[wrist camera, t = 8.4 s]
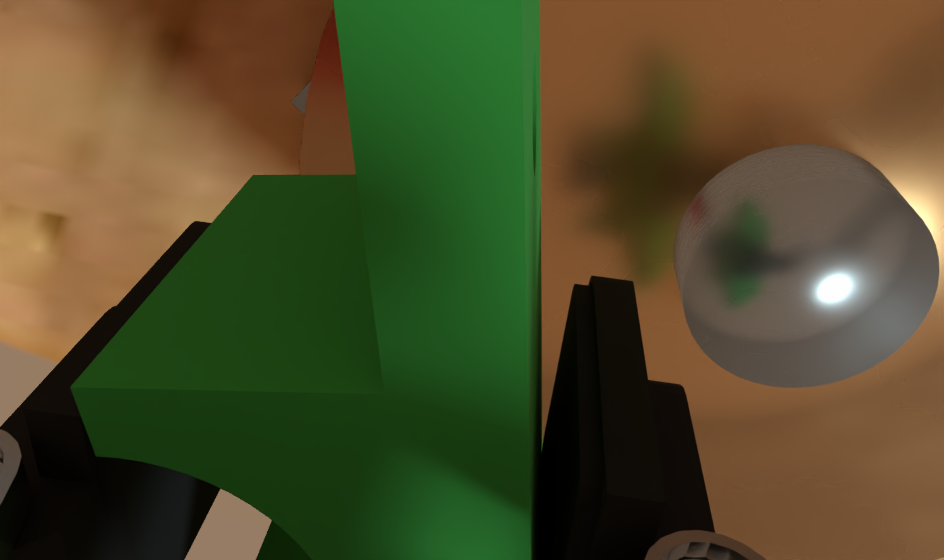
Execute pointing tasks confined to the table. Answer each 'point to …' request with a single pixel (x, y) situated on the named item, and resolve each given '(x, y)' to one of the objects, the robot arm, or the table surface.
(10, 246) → the table surface
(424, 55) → the pipe clamp
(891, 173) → the bronze disc on slab
